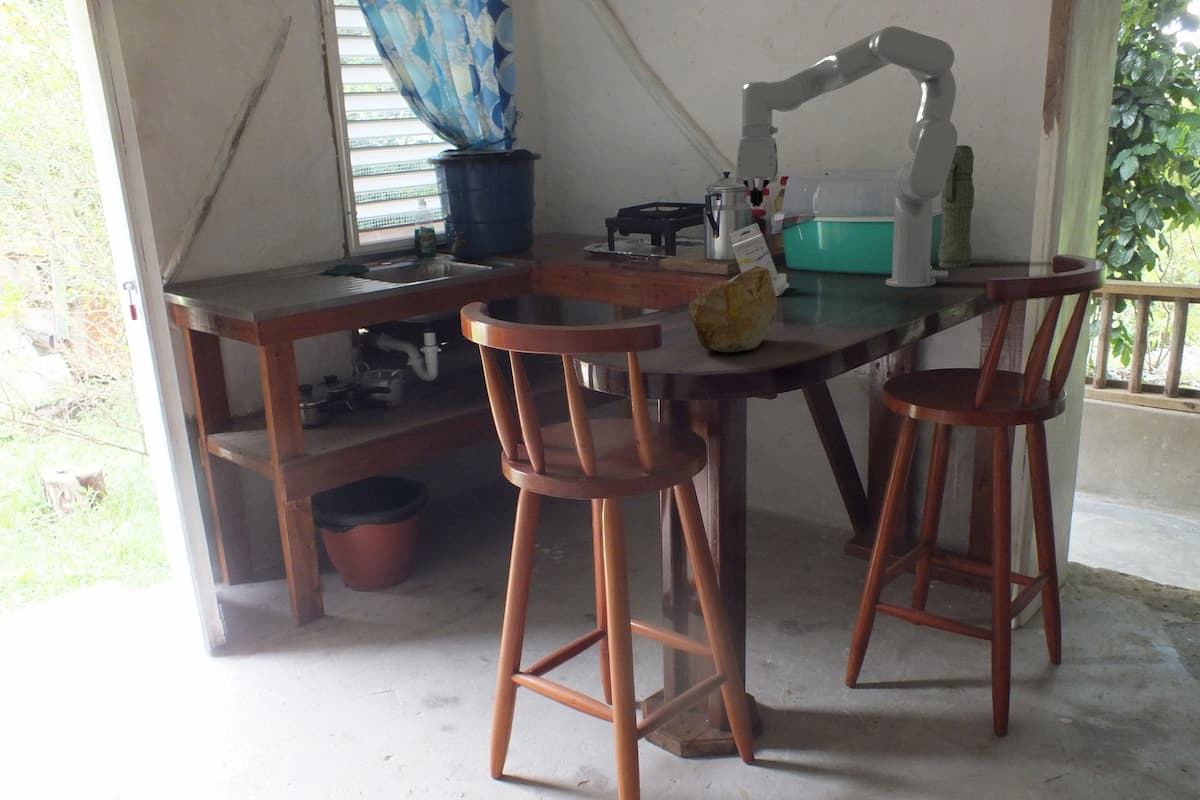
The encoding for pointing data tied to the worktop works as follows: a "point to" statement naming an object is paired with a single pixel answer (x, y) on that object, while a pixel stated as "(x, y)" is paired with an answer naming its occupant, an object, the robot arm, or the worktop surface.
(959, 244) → the thermos
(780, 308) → the worktop surface
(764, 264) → the ink cartridge box
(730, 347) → the rough brown rock
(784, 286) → the rail dock
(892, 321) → the worktop surface
